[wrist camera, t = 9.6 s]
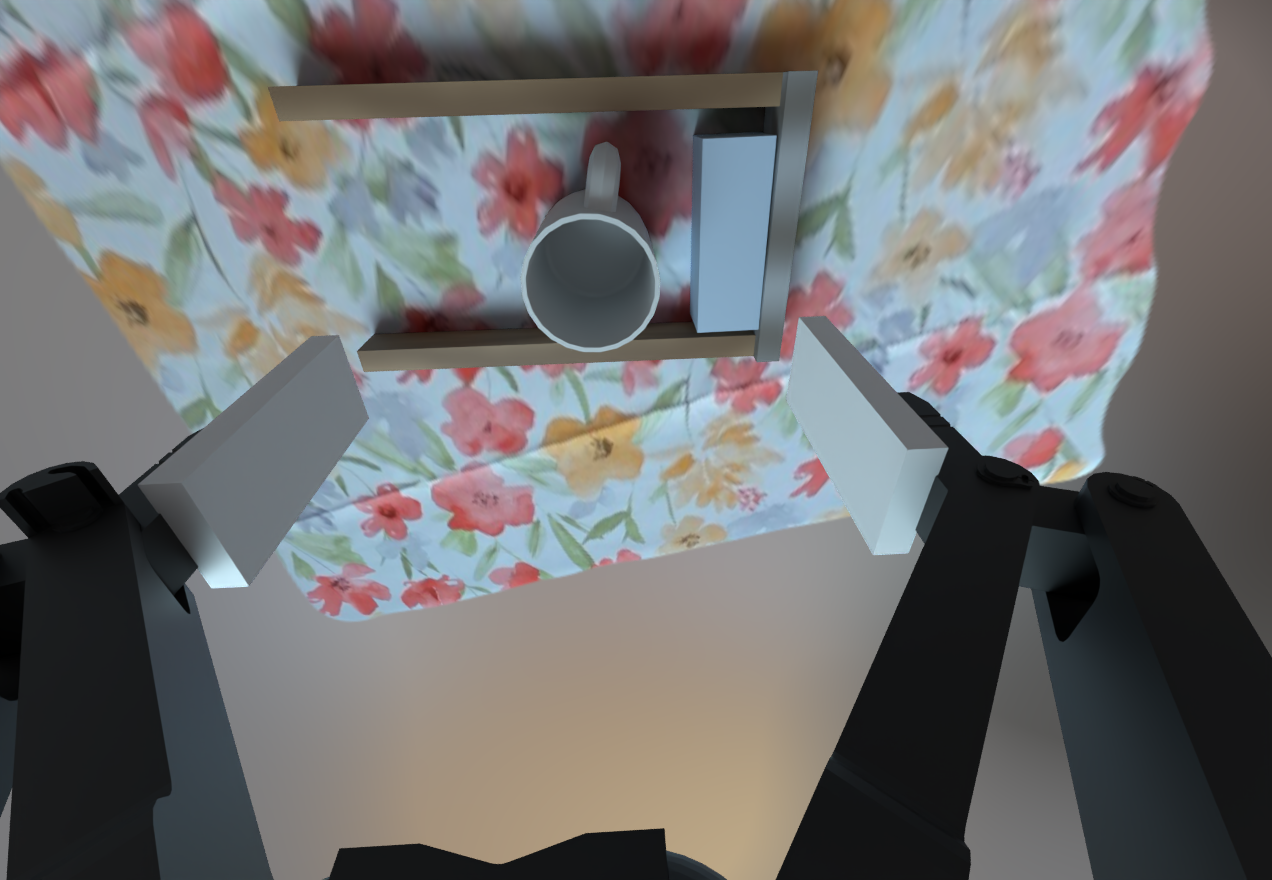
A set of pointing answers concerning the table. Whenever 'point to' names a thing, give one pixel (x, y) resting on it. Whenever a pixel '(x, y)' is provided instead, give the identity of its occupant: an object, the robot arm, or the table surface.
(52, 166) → the table surface
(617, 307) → the cup
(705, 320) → the block
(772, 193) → the channel
